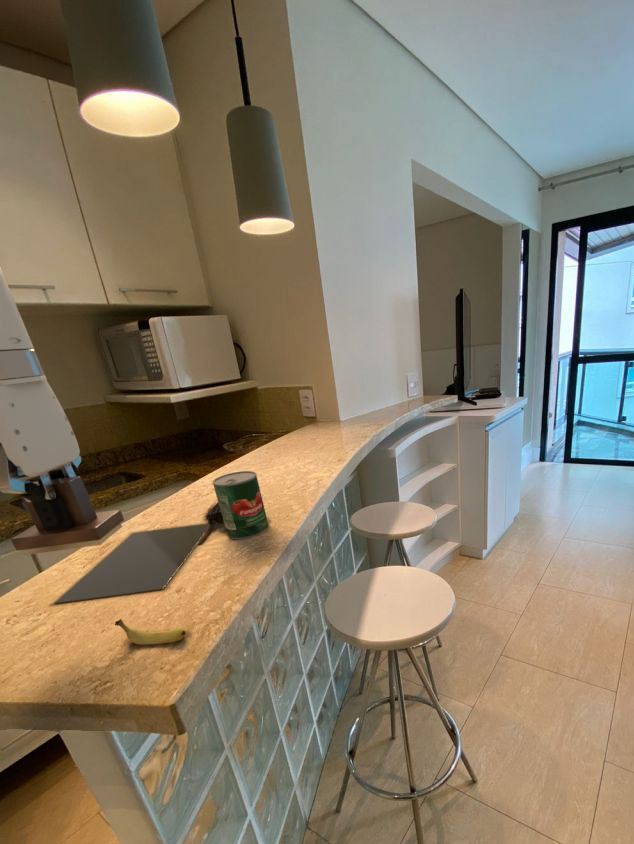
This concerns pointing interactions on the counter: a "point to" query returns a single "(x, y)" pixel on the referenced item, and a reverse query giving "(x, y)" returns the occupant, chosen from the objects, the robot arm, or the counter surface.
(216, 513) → the hairbrush
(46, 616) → the counter surface
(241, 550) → the counter surface
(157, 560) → the slate board
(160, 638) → the banana
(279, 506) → the counter surface
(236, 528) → the canned tomato
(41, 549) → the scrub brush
